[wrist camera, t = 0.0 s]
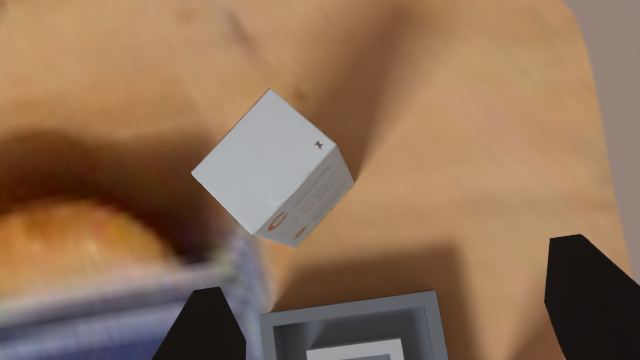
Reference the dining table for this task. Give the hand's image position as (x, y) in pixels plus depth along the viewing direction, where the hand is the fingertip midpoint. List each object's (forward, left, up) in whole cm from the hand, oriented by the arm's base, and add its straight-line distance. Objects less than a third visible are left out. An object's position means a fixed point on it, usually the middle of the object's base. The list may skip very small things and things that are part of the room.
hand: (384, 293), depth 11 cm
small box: (+9, +7, -32) cm, 35 cm away
